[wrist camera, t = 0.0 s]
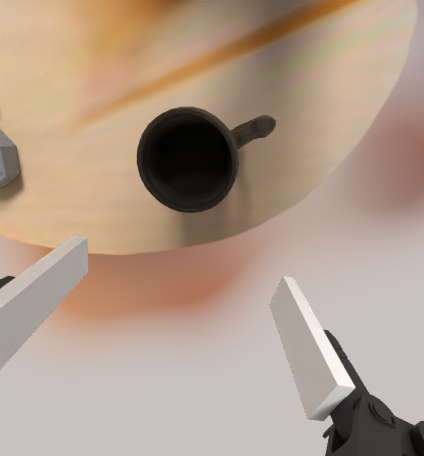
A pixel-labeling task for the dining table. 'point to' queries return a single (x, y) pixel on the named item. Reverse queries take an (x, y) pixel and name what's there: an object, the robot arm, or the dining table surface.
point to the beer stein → (193, 157)
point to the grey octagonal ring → (8, 160)
